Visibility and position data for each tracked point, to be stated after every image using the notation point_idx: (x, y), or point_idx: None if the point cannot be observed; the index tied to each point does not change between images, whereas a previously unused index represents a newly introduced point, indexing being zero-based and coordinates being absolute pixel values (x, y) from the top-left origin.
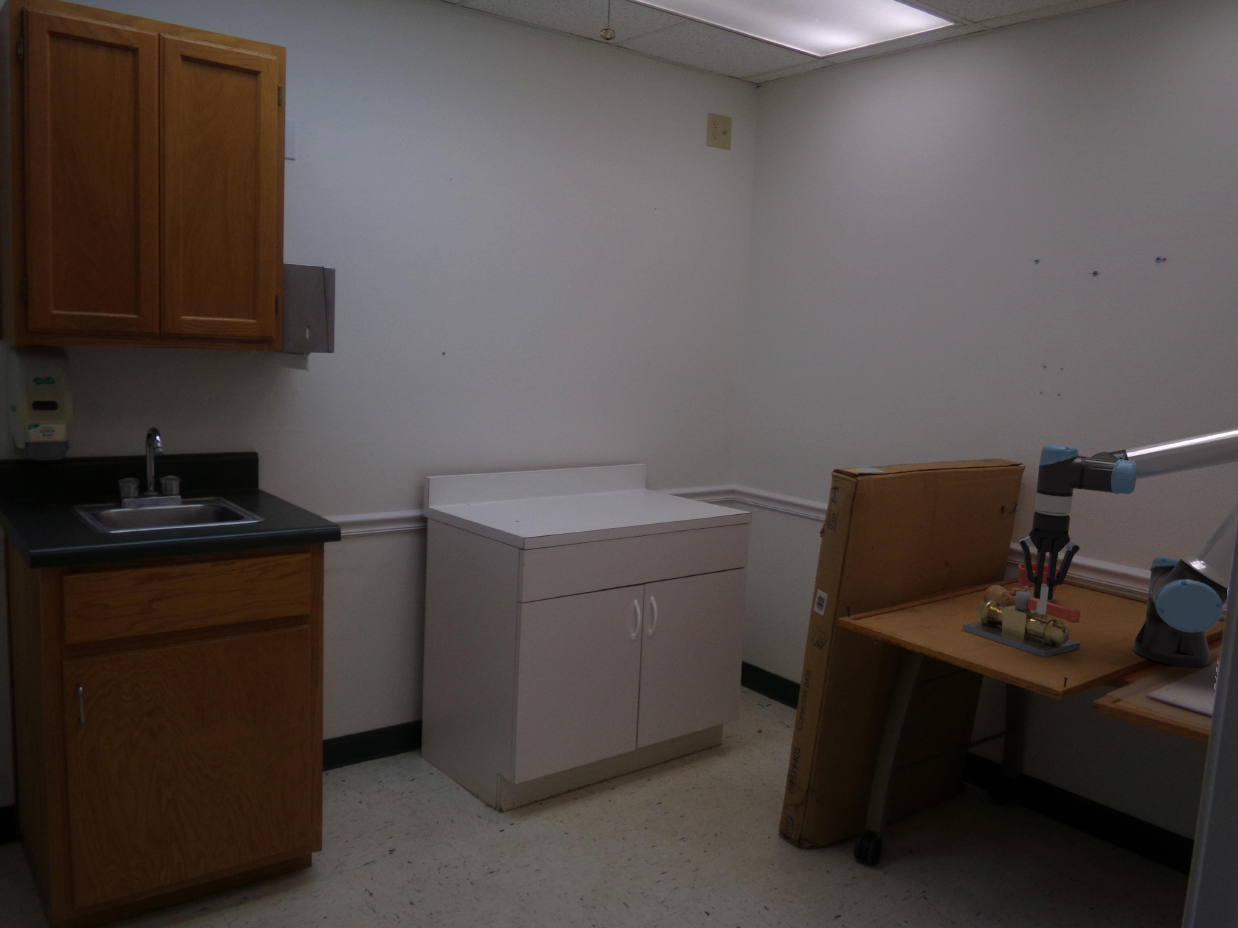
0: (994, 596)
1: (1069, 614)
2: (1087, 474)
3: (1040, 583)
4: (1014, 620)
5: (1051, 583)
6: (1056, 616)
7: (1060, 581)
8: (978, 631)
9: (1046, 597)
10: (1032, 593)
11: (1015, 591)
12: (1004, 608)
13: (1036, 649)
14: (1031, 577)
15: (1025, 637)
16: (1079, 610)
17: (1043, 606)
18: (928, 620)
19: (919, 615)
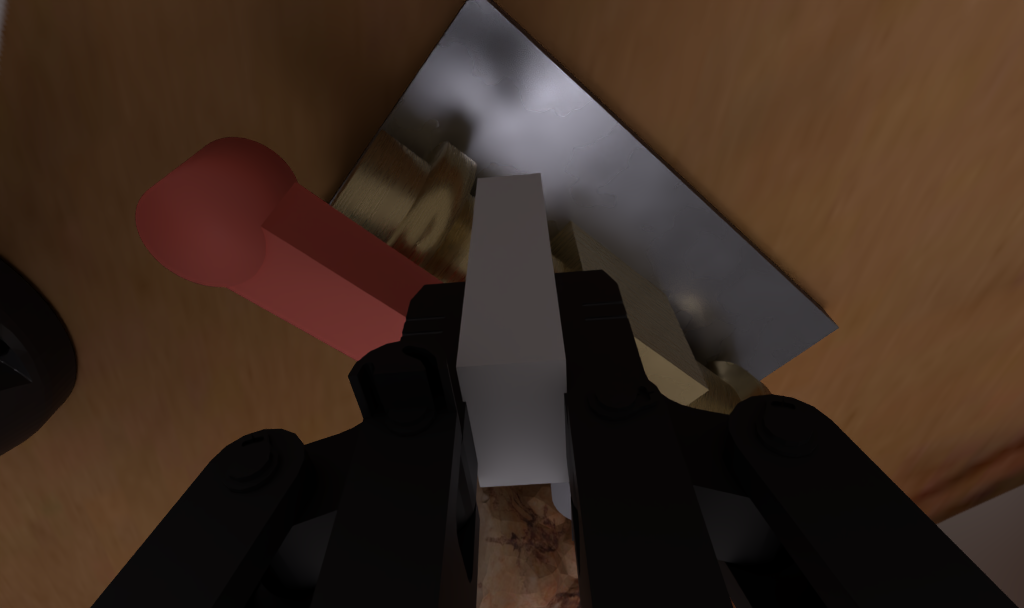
0: None
1: (252, 181)
2: None
3: (597, 390)
4: (636, 307)
5: (409, 420)
6: (383, 245)
7: (239, 476)
8: (781, 271)
9: (478, 268)
10: (503, 597)
11: (577, 605)
12: (703, 383)
13: (524, 35)
14: (801, 469)
15: (561, 231)
16: (154, 251)
17: (503, 212)
18: (929, 381)
19: (936, 426)
